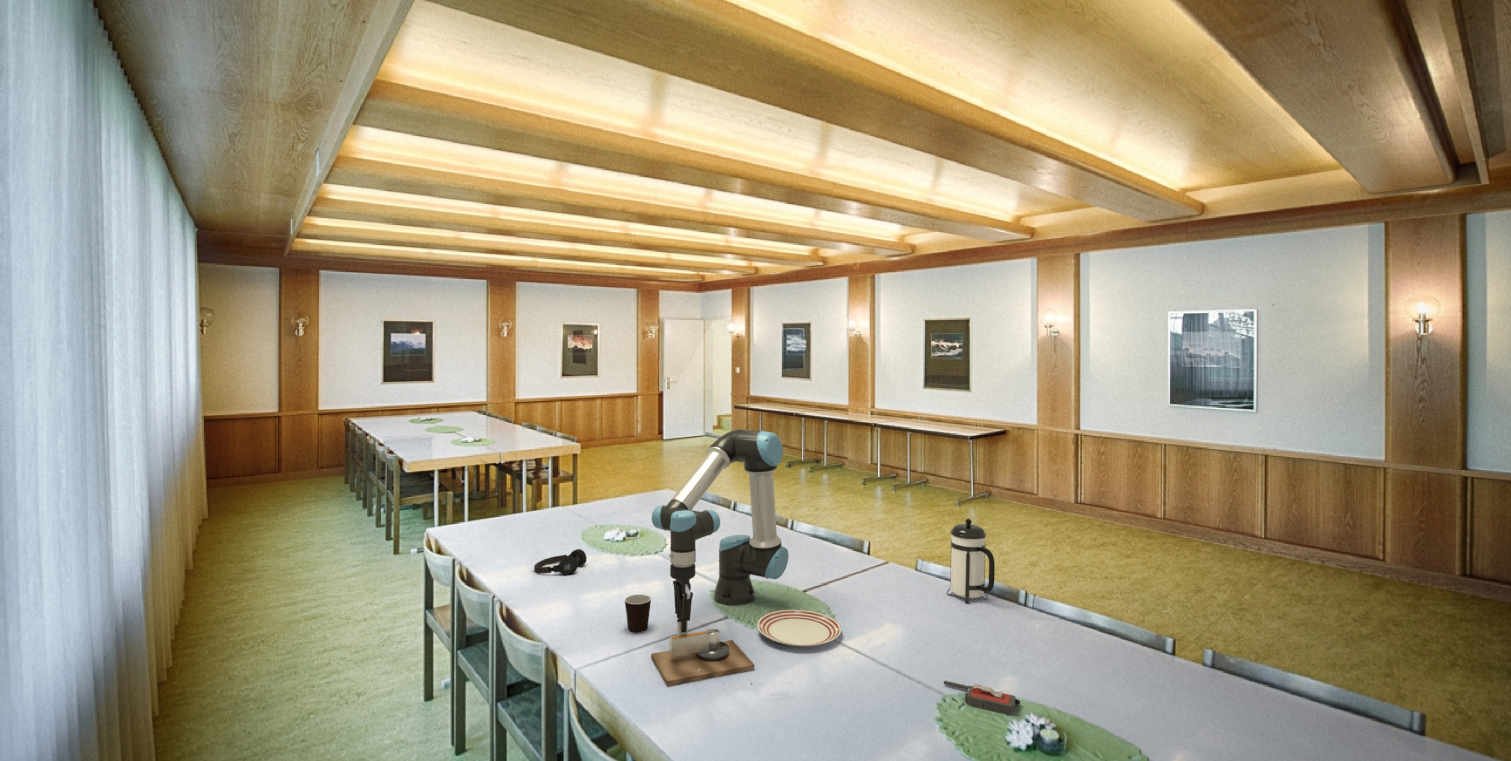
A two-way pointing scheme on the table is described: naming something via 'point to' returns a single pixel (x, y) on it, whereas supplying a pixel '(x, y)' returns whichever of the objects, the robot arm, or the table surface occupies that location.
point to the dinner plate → (799, 628)
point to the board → (700, 665)
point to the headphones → (563, 563)
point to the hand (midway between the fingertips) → (682, 640)
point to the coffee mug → (637, 612)
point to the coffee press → (969, 562)
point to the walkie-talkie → (988, 698)
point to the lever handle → (699, 645)
